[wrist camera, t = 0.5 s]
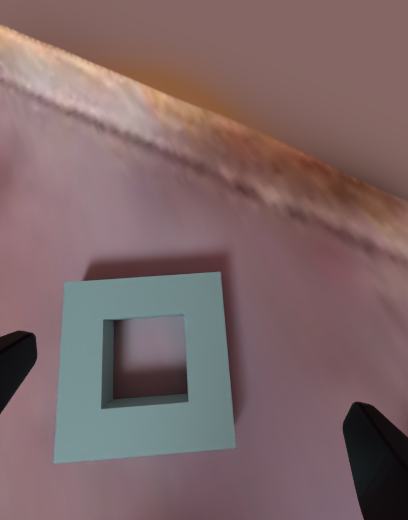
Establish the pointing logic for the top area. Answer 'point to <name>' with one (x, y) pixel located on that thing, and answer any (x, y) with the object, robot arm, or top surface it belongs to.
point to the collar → (152, 407)
